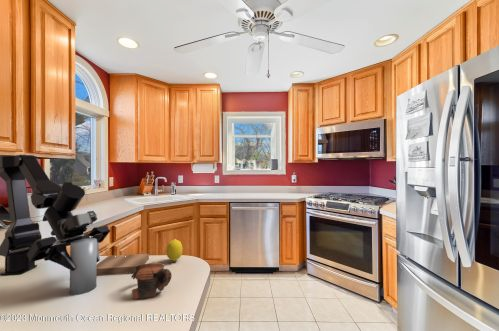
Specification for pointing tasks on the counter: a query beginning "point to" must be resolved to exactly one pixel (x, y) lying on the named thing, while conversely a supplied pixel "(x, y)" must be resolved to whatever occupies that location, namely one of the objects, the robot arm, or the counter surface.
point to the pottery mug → (150, 279)
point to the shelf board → (121, 264)
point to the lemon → (174, 250)
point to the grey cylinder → (83, 265)
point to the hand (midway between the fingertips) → (86, 265)
